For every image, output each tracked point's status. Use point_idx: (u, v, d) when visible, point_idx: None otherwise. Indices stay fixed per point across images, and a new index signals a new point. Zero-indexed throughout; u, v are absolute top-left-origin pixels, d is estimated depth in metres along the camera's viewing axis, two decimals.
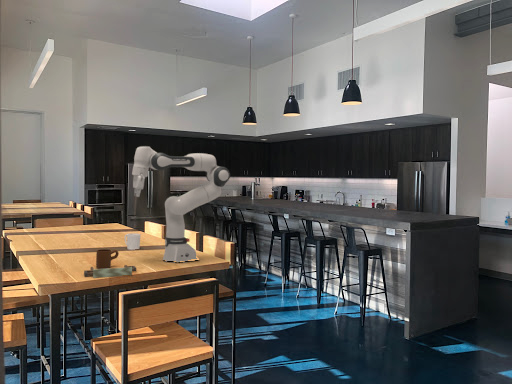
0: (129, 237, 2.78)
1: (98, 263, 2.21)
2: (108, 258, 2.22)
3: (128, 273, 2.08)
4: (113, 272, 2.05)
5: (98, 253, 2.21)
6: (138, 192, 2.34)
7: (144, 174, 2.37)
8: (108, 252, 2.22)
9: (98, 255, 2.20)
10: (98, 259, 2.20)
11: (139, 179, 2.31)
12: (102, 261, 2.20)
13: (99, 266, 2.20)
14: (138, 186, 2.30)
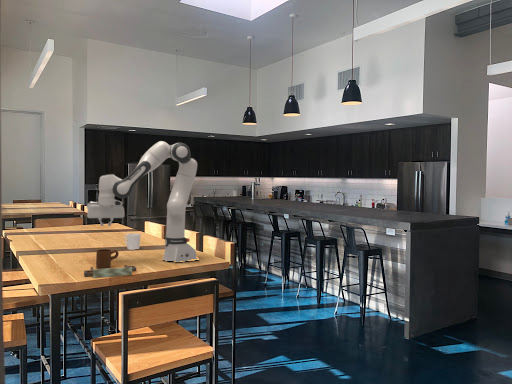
0: (129, 237, 2.78)
1: (98, 263, 2.21)
2: (108, 258, 2.22)
3: (128, 273, 2.08)
4: (113, 272, 2.05)
5: (98, 253, 2.21)
6: None
7: (99, 203, 2.33)
8: (108, 252, 2.22)
9: (98, 255, 2.20)
10: (98, 259, 2.20)
11: None
12: (102, 261, 2.20)
13: (99, 266, 2.20)
14: (87, 215, 2.34)
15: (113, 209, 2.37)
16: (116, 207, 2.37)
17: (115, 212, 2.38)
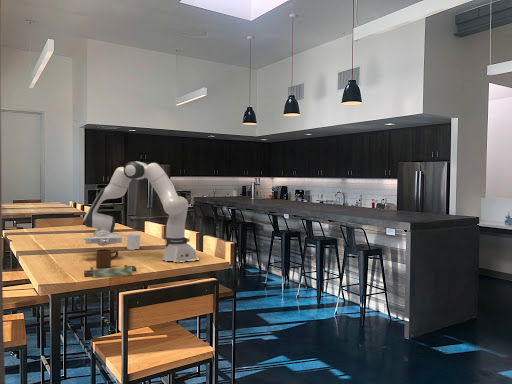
0: (129, 237, 2.78)
1: (98, 263, 2.21)
2: (108, 258, 2.22)
3: (128, 273, 2.08)
4: (113, 272, 2.05)
5: (98, 253, 2.21)
6: (101, 241, 2.38)
7: (95, 235, 2.47)
8: (108, 252, 2.22)
9: (98, 255, 2.20)
10: (98, 259, 2.20)
11: None
12: (102, 261, 2.20)
13: (99, 266, 2.20)
14: None
15: (110, 236, 2.47)
16: (112, 234, 2.49)
17: (112, 236, 2.46)
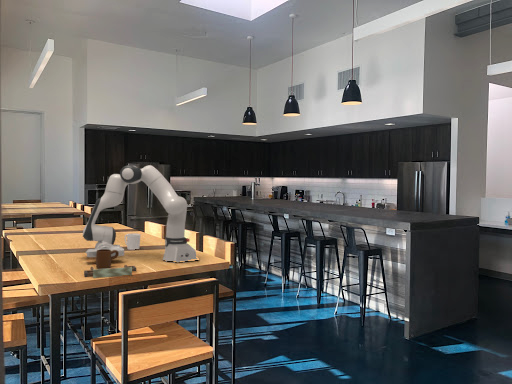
0: (129, 237, 2.78)
1: (98, 263, 2.20)
2: (108, 258, 2.22)
3: (128, 273, 2.08)
4: (113, 272, 2.05)
5: (98, 253, 2.20)
6: None
7: (97, 247, 2.38)
8: (108, 252, 2.22)
9: (98, 255, 2.20)
10: (98, 259, 2.20)
11: None
12: (102, 261, 2.20)
13: (99, 266, 2.20)
14: (87, 255, 2.29)
15: (112, 249, 2.38)
16: (114, 247, 2.40)
17: (114, 249, 2.37)
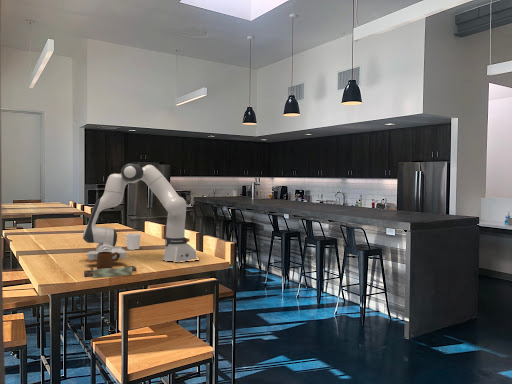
0: (129, 237, 2.78)
1: (99, 266, 2.14)
2: (110, 261, 2.15)
3: (128, 273, 2.08)
4: (113, 272, 2.05)
5: (99, 256, 2.14)
6: None
7: (98, 249, 2.32)
8: (110, 254, 2.15)
9: (99, 258, 2.14)
10: (99, 262, 2.14)
11: (88, 256, 2.26)
12: (103, 264, 2.13)
13: None
14: None
15: None
16: (116, 249, 2.33)
17: (115, 251, 2.31)
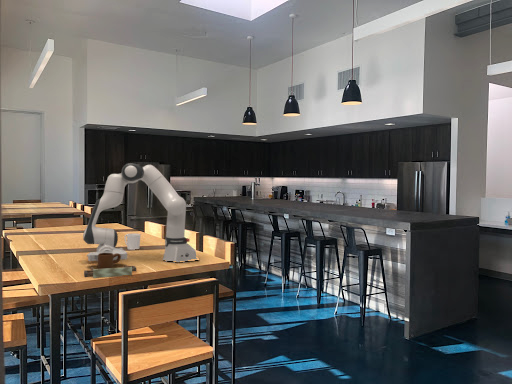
0: (129, 237, 2.78)
1: (100, 267, 2.11)
2: (110, 262, 2.12)
3: (128, 273, 2.08)
4: (113, 272, 2.05)
5: (100, 257, 2.11)
6: None
7: (99, 250, 2.28)
8: (110, 256, 2.12)
9: (100, 259, 2.10)
10: (100, 263, 2.10)
11: None
12: (104, 266, 2.10)
13: None
14: (88, 259, 2.19)
15: None
16: (117, 250, 2.30)
17: (116, 252, 2.27)
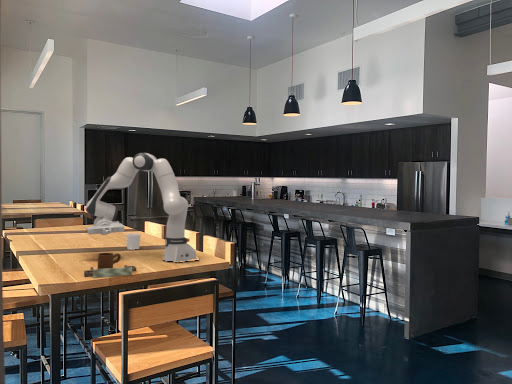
0: (129, 237, 2.78)
1: (100, 267, 2.11)
2: (110, 262, 2.12)
3: (128, 273, 2.08)
4: (113, 272, 2.05)
5: (100, 257, 2.11)
6: (103, 231, 2.36)
7: (97, 224, 2.44)
8: (110, 256, 2.12)
9: (100, 259, 2.10)
10: (100, 263, 2.10)
11: (88, 231, 2.39)
12: (104, 266, 2.10)
13: None
14: (88, 233, 2.35)
15: (111, 225, 2.45)
16: (114, 223, 2.47)
17: (114, 225, 2.44)
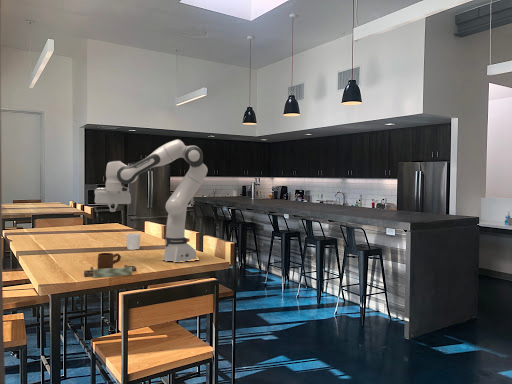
0: (129, 237, 2.78)
1: (100, 267, 2.11)
2: (110, 262, 2.12)
3: (128, 273, 2.08)
4: (113, 272, 2.05)
5: (100, 257, 2.11)
6: (109, 207, 2.41)
7: (106, 189, 2.38)
8: (110, 256, 2.12)
9: (100, 259, 2.10)
10: (100, 263, 2.10)
11: None
12: (104, 266, 2.10)
13: None
14: None
15: (120, 195, 2.42)
16: (123, 193, 2.42)
17: (122, 198, 2.42)
